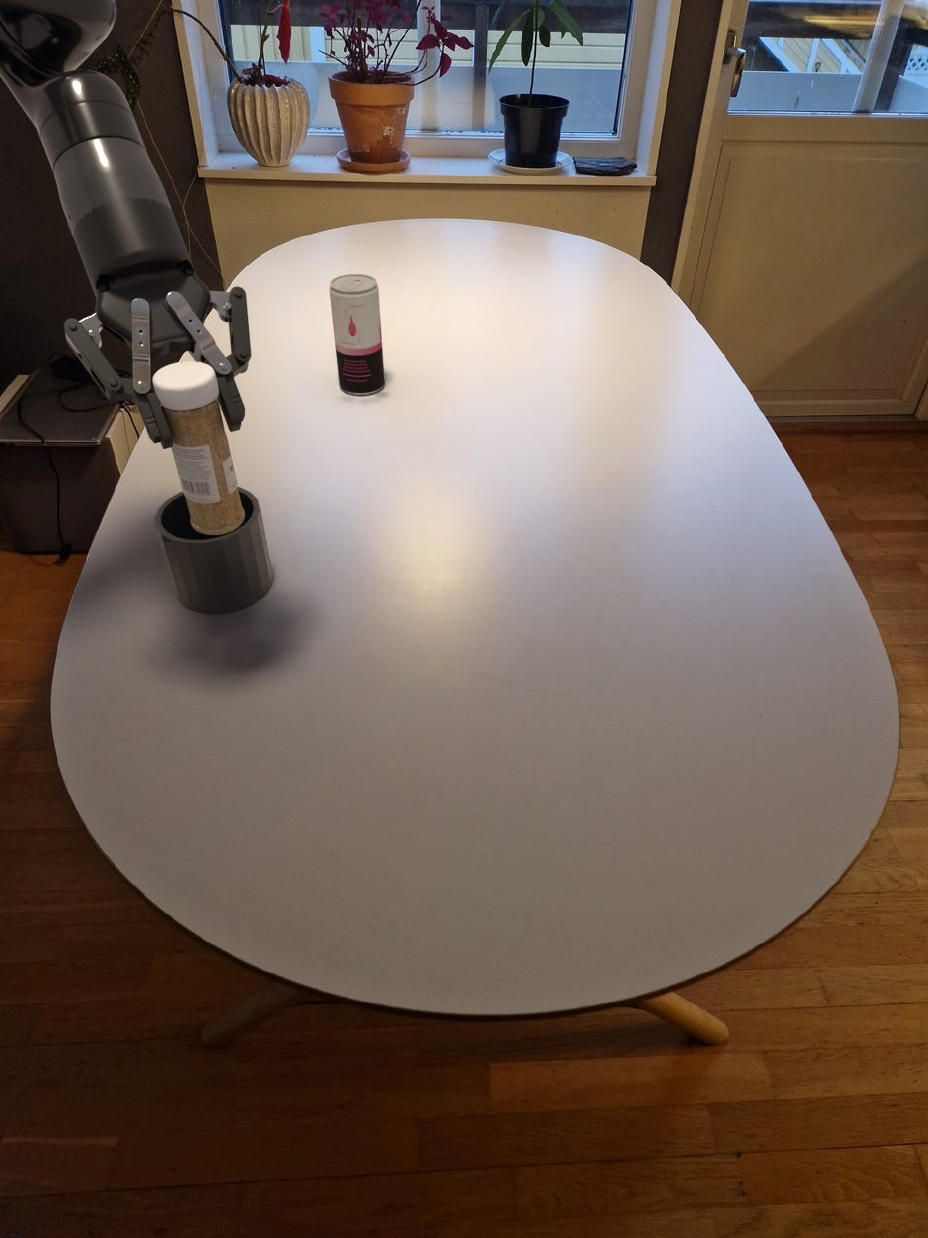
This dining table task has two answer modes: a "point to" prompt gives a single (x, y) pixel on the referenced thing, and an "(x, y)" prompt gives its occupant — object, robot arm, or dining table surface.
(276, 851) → the dining table surface
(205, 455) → the sprinkles bottle
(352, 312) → the beverage can
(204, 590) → the dark gray cylindrical container
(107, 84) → the robot arm
